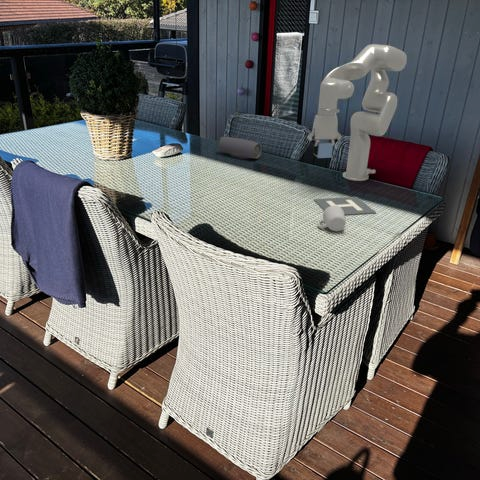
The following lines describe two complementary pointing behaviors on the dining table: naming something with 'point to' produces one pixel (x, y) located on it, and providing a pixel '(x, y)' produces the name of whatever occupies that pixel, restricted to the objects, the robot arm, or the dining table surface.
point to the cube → (324, 149)
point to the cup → (333, 218)
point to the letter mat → (346, 205)
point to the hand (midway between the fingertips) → (322, 153)
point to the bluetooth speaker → (240, 147)
